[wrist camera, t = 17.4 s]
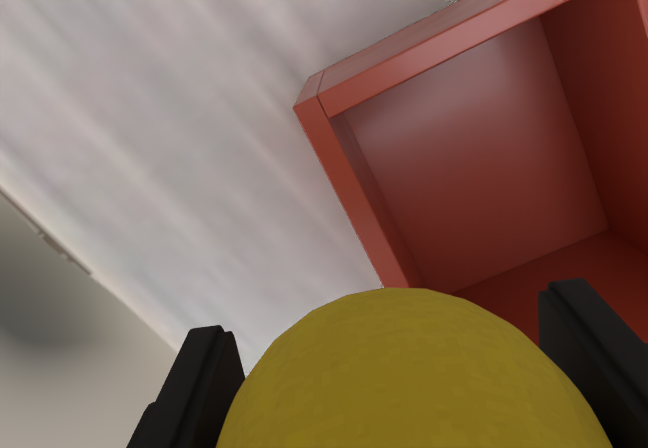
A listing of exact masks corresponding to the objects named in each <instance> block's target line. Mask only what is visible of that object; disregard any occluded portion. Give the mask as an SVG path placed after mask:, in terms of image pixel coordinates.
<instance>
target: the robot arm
mask: <svg viewBox="0 0 648 448" xmlns="http://www.w3.org/2000/svg"><path fill="white" fill-rule="evenodd" d="M538 326H539V349H540V350H541V351H542V352H543V353H544V354H545V355H546V356H547V357H549V358H550V359H551V360H552V361H553V362H554V363H555V364H556V365H557V366H558V367H559V368H560V369H561V370H562V371H563V372H564V373H565V374H566V375H567V377H568V378H569V379H570V380H571V381H572V382H573V384H574V385H575V386H576V387H577V388H578V390H579V391H580V392H581V394H582V395H583V397H584V398H585V400H586V401H587V402H588V404H589V405H590V407H591V408H592V410H593V412H594V414H595V415H596V417H597V419H598V421H599V423H600V424H601V426H602V428H603V430H604V432H605V433H606V435H607V437H608V439H609V441H610V443H611V445H612V447H613V448H648V343H644V342H643V341H642V340H641V339H640V338H639V337H638V336H637V335H636V334H635V332H634V331H633V330H632V329H631V328H630V327H629V326H628V325H627V324H626V323H625V322H624V321H623V320H622V319H621V318H620V316H619V315H618V314H617V313H616V312H615V311H614V310H613V309H612V308H611V307H610V306H609V305H608V304H607V303H606V302H605V300H604V299H603V298H602V297H601V296H600V295H599V294H598V293H597V292H596V291H595V290H594V289H593V288H592V287H591V286H590V284H589V283H588V282H587V281H586V280H585V279H583V278H575V279H567V280H559V281H552V282H549V283H548V286H547V290H543V291H539V293H538ZM244 380H245V375H244V372H243V368H242V364H241V360H240V356H239V352H238V349H237V345H236V341H235V337H234V335H233V333H232V332H231V331H228V332H224V330H223V328H222V326H220V325H216V326H208V327H201V328H193V329H190V331H189V332H188V334H187V337H186V339H185V341H184V343H183V345H182V347H181V349H180V351H179V353H178V355H177V357H176V360H175V362H174V364H173V366H172V368H171V370H170V372H169V374H168V376H167V378H166V380H165V383H164V385H163V387H162V389H161V391H160V393H159V395H158V397H157V399H156V401H155V402H153V403H151V404H149V405H148V407H147V408H146V410H145V411H144V413H143V415H142V417H141V419H140V421H139V423H138V425H137V427H136V429H135V431H134V433H133V435H132V437H131V439H130V442H129V443H128V445H127V447H126V448H215V447H216V444H217V442H218V439H219V436H220V433H221V430H222V428H223V425H224V422H225V419H226V416H227V413H228V411H229V409H230V407H231V404H232V402H233V400H234V398H235V396H236V394H237V392H238V390H239V389H240V387H241V385H242V384H243V382H244Z"/></svg>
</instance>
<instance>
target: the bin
mask: <svg viewBox="0 0 648 448" xmlns="http://www.w3.org/2000/svg"><path fill="white" fill-rule="evenodd" d="M293 110H294V112H295V114H296V116H297V118H298V120H299V122H300V124H301V126H302V128H303V130H304V132H305V134H306V136H307V138H308V140H309V142H310V143H311V145H312V147H313V149H314V151H315V153H316V155H317V157H318V159H319V161H320V163H321V165H322V167H323V169H324V171H325V173H326V175H327V177H328V179H329V181H330V183H331V185H332V187H333V189H334V191H335V192H336V194H337V196H338V198H339V200H340V202H341V204H342V206H343V208H344V210H345V212H346V214H347V216H348V218H349V220H350V222H351V224H352V226H353V228H354V230H355V232H356V234H357V236H358V238H359V240H360V241H361V243H362V245H363V247H364V249H365V251H366V253H367V255H368V257H369V259H370V261H371V263H372V265H373V267H374V269H375V271H376V273H377V275H378V277H379V279H380V281H381V283H382V285H383V287H384V288H420V289H429V290H433V291H436V292H440V293H444V294H447V295H451V296H455V297H459V298H462V299H465V300H467V301H470V302H472V303H474V304H476V305H478V306H480V307H481V308H483V309H485V310H487V311H489V312H491V313H492V314H494V315H496V316H498V317H500V318H502V319H503V320H505V321H507V322H509V323H510V324H512V325H513V326H515V327H516V328H517V329H519V330H520V331H521V332H522V333H524V334H525V335H526V336H527V337H528V338H529V339H530V340H531V341H532V342H533V343H534V344H535V345H536V346H537V347H538V348H539V326H538V293H539V291H543V290H547V286H548V283H549V282H552V281H559V280H567V279H575V278H583V279H585V280H586V281H587V282H588V283H589V284H590V286H591V287H592V288H593V289H594V290H595V291H596V292H597V293H598V294H599V295H600V296H601V297H602V298H603V299H604V300H605V302H606V303H607V304H608V305H609V306H610V307H611V308H612V309H613V310H614V311H615V312H616V313H617V314H618V315H619V316H620V318H621V319H622V320H623V321H624V322H625V323H626V324H627V325H628V326H629V327H630V328H631V329H632V330H633V331H634V332H635V334H636V335H637V336H638V337H639V338H640V339H641V340H642V341H643V342H644V343H648V0H459V1H457V2H455V3H453V4H451V5H449V6H447V7H445V8H443V9H441V10H439V11H437V12H435V13H433V14H431V15H429V16H428V17H426V18H424V19H422V20H420V21H418V22H416V23H414V24H412V25H410V26H408V27H406V28H404V29H402V30H400V31H398V32H396V33H394V34H392V35H391V36H389V37H387V38H385V39H383V40H381V41H379V42H377V43H375V44H373V45H371V46H369V47H367V48H365V49H363V50H361V51H359V52H357V53H355V54H354V55H352V56H350V57H348V58H346V59H344V60H342V61H340V62H338V63H336V64H334V65H332V66H330V67H328V68H326V69H324V70H322V71H320V72H319V73H317V74H315V75H313V76H311V77H309V78H308V80H307V82H306V84H305V86H304V88H303V89H302V91H301V93H300V95H299V97H298V99H297V100H296V102H295V104H294V106H293Z"/></svg>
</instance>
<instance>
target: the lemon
mask: <svg viewBox="0 0 648 448" xmlns="http://www.w3.org/2000/svg"><path fill="white" fill-rule="evenodd" d="M215 448H613V447H612V445H611V443H610V441H609V439H608V437H607V435H606V433H605V432H604V430H603V428H602V426H601V424H600V423H599V421H598V419H597V417H596V415H595V414H594V412H593V410H592V408H591V407H590V405H589V404H588V402H587V401H586V400H585V398H584V397H583V395H582V394H581V392H580V391H579V390H578V388H577V387H576V386H575V385H574V384H573V382H572V381H571V380H570V379H569V378H568V377H567V375H566V374H565V373H564V372H563V371H562V370H561V369H560V368H559V367H558V366H557V365H556V364H555V363H554V362H553V361H552V360H551V359H550V358H549V357H547V356H546V355H545V354H544V353H543V352H542V351H541V350H540V349H539V348H538V347H537V346H536V345H535V344H534V343H533V342H532V341H531V340H530V339H529V338H528V337H527V336H526V335H525V334H524V333H522V332H521V331H520V330H519V329H517V328H516V327H515V326H513V325H512V324H510V323H509V322H507V321H505V320H503V319H502V318H500V317H498V316H496V315H494V314H492V313H491V312H489V311H487V310H485V309H483V308H481V307H480V306H478V305H476V304H474V303H472V302H470V301H467V300H465V299H462V298H459V297H455V296H451V295H447V294H444V293H440V292H436V291H433V290H429V289H420V288H381V289H376V290H371V291H366V292H360V293H355V294H350V295H346V296H344V297H342V298H339V299H337V300H335V301H333V302H330V303H328V304H326V305H324V306H321V307H319V308H317V309H315V310H312V311H311V312H310V313H308V314H307V315H306V316H305V317H303V318H302V319H301V320H299V321H298V322H297V323H296V324H294V325H293V326H292V327H291V328H289V329H288V330H287V331H285V332H284V333H283V334H282V335H280V336H279V337H278V338H277V339H276V340H274V342H273V343H272V344H271V345H270V347H269V348H268V349H267V351H266V352H265V353H264V355H263V356H262V357H261V359H260V360H259V361H258V363H257V364H256V365H255V367H254V368H253V370H252V371H251V372H250V374H249V375H248V376H247V378H246V379H245V380H244V382H243V384H242V385H241V387H240V389H239V390H238V392H237V394H236V396H235V398H234V400H233V402H232V404H231V407H230V409H229V411H228V413H227V416H226V419H225V422H224V425H223V428H222V430H221V433H220V436H219V439H218V442H217V444H216V447H215Z"/></svg>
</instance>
